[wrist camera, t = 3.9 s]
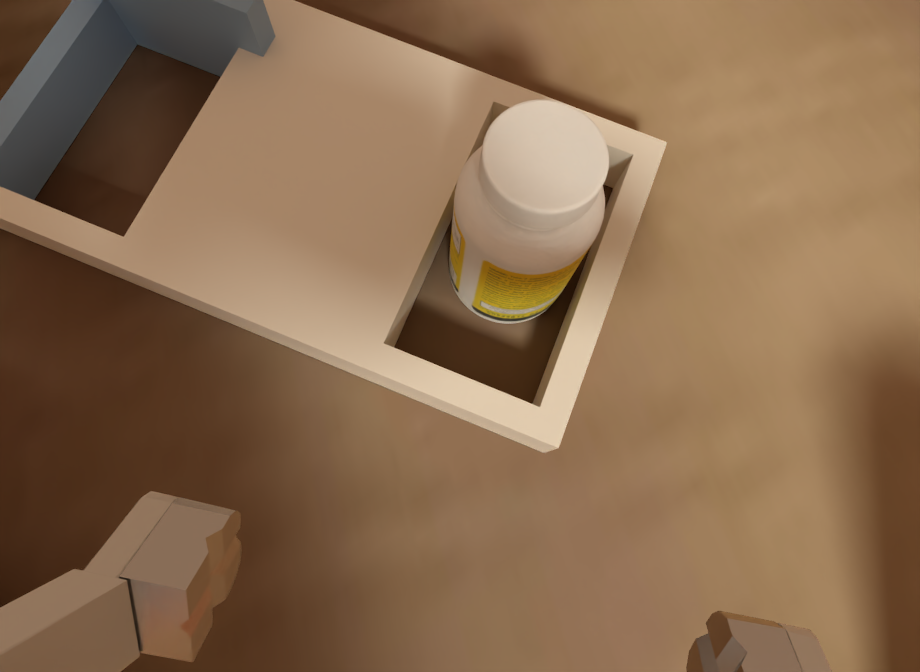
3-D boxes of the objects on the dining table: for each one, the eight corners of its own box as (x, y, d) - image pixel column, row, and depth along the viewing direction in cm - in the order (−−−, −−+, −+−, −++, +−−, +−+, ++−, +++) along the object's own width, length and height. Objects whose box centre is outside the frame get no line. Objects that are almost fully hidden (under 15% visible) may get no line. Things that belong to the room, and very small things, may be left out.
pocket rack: (543, 452, 26) (573, 443, 20) (-12, 223, 27) (-120, 158, 22) (643, 176, 29) (691, 107, 24) (149, -14, 31) (90, -120, 25)
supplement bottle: (587, 279, 28) (669, 169, 18) (499, 349, 27) (537, 272, 17) (512, 195, 29) (553, 50, 19) (424, 260, 28) (421, 140, 18)
